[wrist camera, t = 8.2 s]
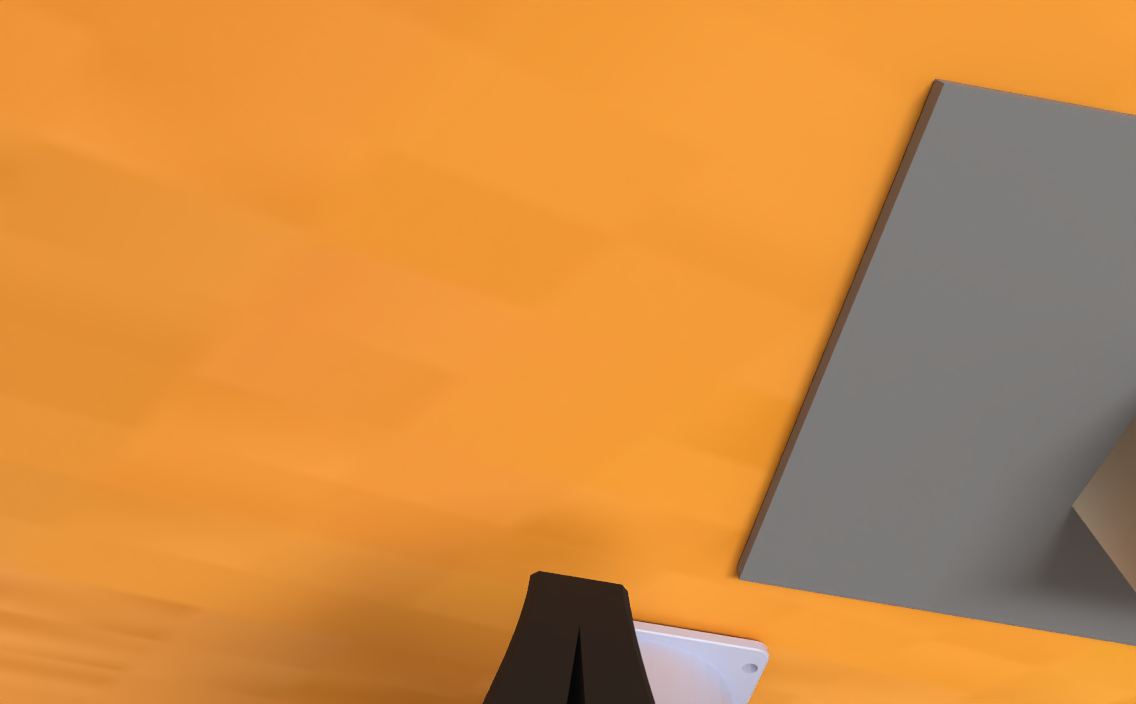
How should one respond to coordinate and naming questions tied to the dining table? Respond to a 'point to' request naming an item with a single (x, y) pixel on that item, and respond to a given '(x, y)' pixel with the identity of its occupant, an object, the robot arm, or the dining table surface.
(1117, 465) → the maple block
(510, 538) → the dining table surface
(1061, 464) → the rubber mat
